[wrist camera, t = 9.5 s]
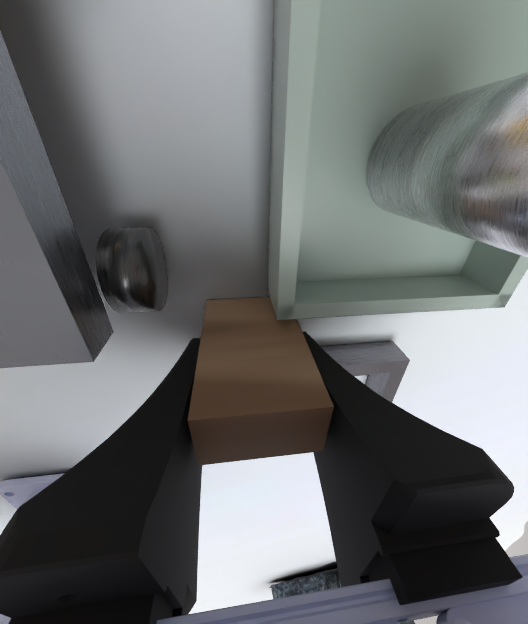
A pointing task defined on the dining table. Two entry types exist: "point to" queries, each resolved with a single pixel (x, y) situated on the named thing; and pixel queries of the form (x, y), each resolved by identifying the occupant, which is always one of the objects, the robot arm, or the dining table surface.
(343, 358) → the socket
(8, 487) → the robot arm
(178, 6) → the dining table surface
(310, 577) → the stone block
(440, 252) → the tray
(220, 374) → the block
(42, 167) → the trolley
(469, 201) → the pin
